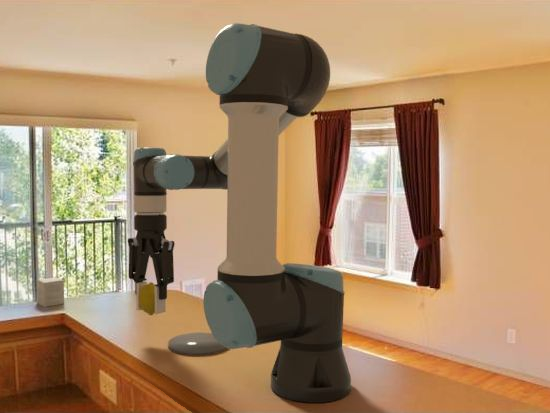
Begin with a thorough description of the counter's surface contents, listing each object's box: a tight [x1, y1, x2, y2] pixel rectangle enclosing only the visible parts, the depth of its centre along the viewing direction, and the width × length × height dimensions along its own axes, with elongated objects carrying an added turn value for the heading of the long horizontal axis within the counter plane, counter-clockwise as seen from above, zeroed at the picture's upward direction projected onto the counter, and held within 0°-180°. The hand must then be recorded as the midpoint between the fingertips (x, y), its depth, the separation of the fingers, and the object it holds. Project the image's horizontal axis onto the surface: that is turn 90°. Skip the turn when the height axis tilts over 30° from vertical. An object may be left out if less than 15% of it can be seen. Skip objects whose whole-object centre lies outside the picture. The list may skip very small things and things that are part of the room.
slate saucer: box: [167, 332, 228, 356], centre depth 130 cm, size 14×14×1 cm
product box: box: [36, 277, 65, 308], centre depth 168 cm, size 6×6×7 cm
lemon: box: [139, 281, 156, 316], centre depth 133 cm, size 6×6×8 cm
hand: (150, 310), depth 133 cm, fingers closed on lemon, 5 cm apart
